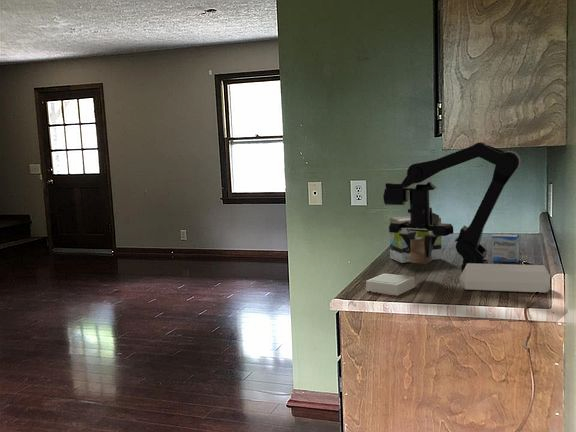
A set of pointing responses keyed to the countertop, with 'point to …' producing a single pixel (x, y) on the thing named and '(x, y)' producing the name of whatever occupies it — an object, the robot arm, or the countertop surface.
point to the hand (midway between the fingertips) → (421, 256)
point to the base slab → (390, 284)
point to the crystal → (505, 277)
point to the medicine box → (505, 248)
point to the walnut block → (419, 251)
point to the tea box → (400, 248)
